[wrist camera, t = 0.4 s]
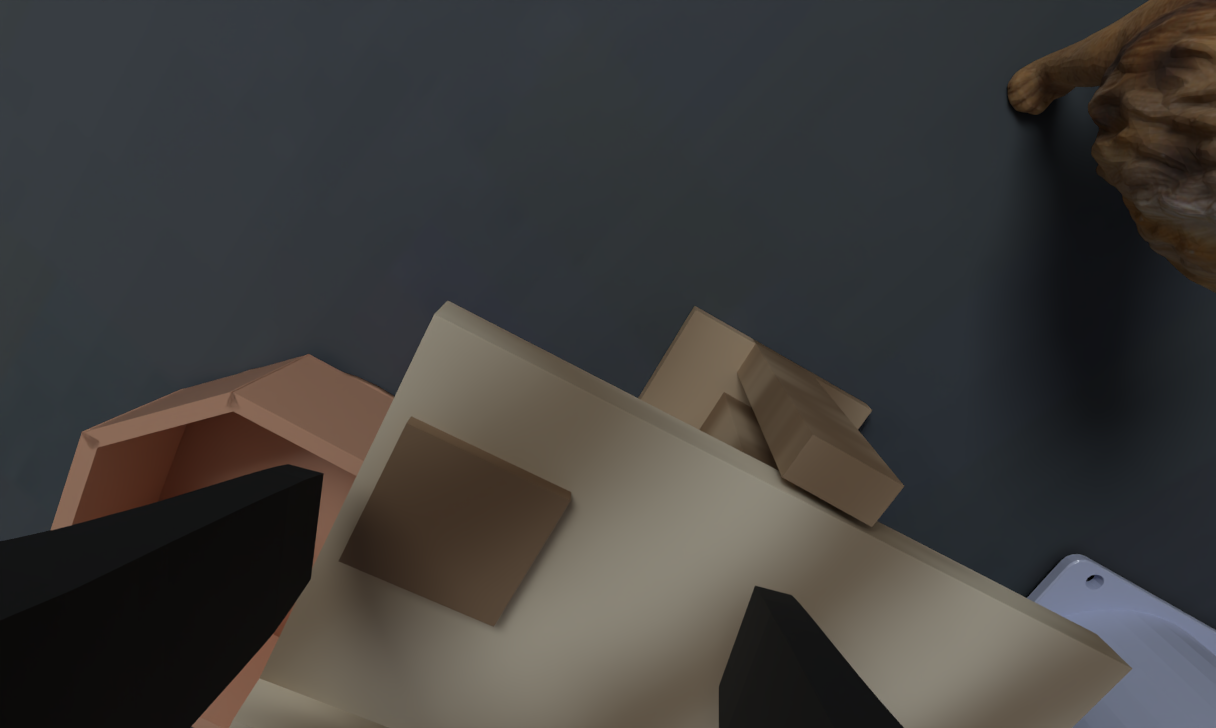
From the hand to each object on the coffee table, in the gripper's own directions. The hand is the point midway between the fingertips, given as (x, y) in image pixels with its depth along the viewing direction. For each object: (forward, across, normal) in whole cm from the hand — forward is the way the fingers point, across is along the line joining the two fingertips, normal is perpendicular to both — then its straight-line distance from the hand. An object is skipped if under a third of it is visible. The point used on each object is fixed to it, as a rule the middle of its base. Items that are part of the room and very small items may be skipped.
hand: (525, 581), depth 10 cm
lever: (+3, -3, +6) cm, 7 cm away
